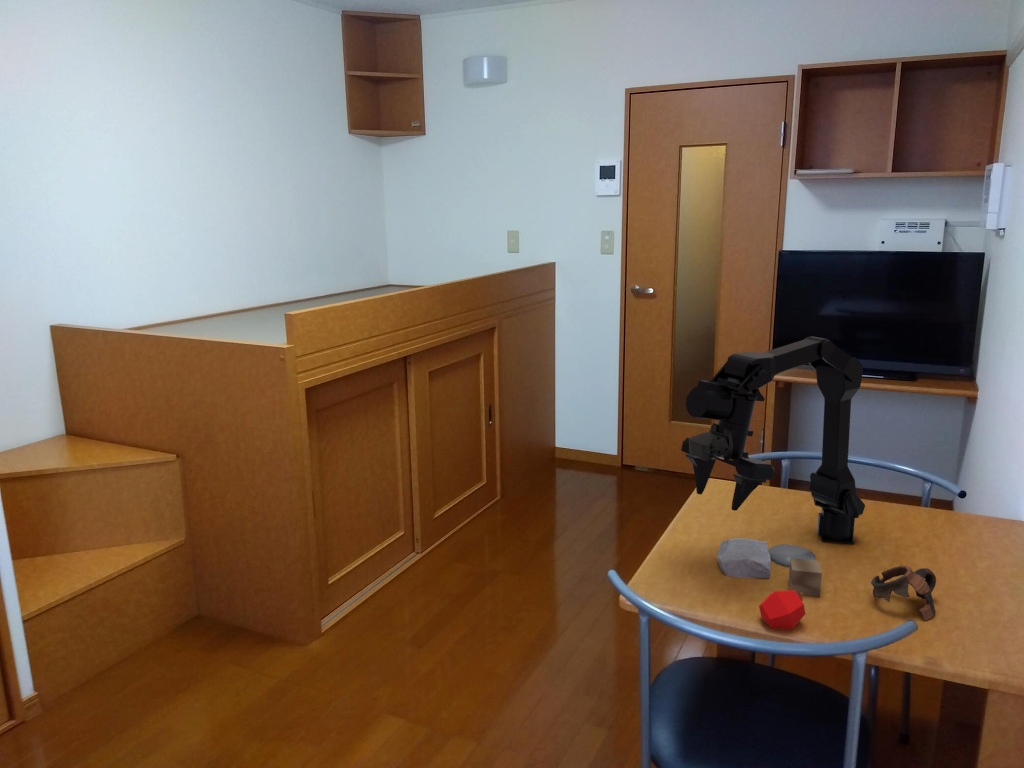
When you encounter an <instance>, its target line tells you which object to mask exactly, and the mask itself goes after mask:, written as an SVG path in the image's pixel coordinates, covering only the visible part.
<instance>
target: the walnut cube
mask: <svg viewBox="0 0 1024 768" xmlns="http://www.w3.org/2000/svg"><path fill="white" fill-rule="evenodd" d="M788 568H789V569H788V587H789V588H788V589H789V591H792V590H795V591H796V593H797V594H798V596H799V594H800V593H803V597H807V598H809V597H810V598H818V599H819V598H821V592H822V591H821V590H822V589H821V587H822V577H823V576H822V575H823V571H822V567H821V565H820V561H819V560H817V559H816V560H806V559H795V558H790V566H789V567H788Z"/></svg>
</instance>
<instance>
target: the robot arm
mask: <svg viewBox="0 0 1024 768" xmlns="http://www.w3.org/2000/svg"><path fill="white" fill-rule="evenodd" d="M805 365H809V366H810V367H811V368H812V369H813V370H814V371H815V374H816V376H815V377H816V384H817V386H818V389H819V391H820V392H821V394H822V396H823V398H824V401H823V403H824V404H823V405H824V406H823V423H822V425H823V426H822V427H823V428H822V446H821V447H822V448H821V451H822V452H821V464H820V466H819V467H818V468H817V469H816V471H815V472H811V473H810V475H809V477H810V478H809V479H810V484H809V487H808V491H810V493H811V497H812V499H813V502H814V506H816V507H819V508H821V509H820V510H821V511H820V512H818V514H817V524H816V525H817V526H816V531H817V535H818V536H819V537H820V540H821V542H825V543H837V544H848V545H854V544H856V543H855V542H856V540H855V538H854V534H855V533H854V532H855V522H856V521H855V520H856V519H858V518H859V517H860V516H862V515H863V513H864V512H865V508H866V504H865V503H864V502H863V500H862V499H861V498H860V497H859V495H858V494H857V490H856V488H857V487H856V479H855V478H854V476H853V474H852V471H851V470H850V468H849V465H848V463H849V449H850V447H849V446H850V445H849V443H850V426H851V413H852V412H851V407H852V406H851V405H852V399H853V398H854V396H855V395H856V394H857V392H858V391H859V390H860V388H861V385H862V379H863V374H864V367H863V363H862V362H861V361H860V360H859V359H858V358H856V357H853V356H852V355H851V354H848V352H846V351H844V350H843V349H841V348H839V347H837V345H835V343H834V342H833V341H831V340H830V339H828V338H824V337H817V336H807V337H805V338H804V339H802V340H799V341H795V342H792V343H788V344H786V345H783V346H780V347H776V348H773V349H771V350H767V351H763V352H753V351H751V352H748V351H747V352H735V353H733V354H730V355H729V356H728V357H727V361H726V362H725V363H724V364H723V365H722V366H721V368H720V369H719V370H718V371H717V372H716V374H715V375H714V376H713V377H712V378H711V379H710V380H709V381H707V380H703V379H699V380H698V383H697V386H694V387H693V388H692V389H691V390H690V391H689V393H688V395H686V399H685V408H686V411H687V413H688V414H689V416H690V417H692V418H695V419H704V420H714V421H715V420H717V421H718V422H713V423H712V424H711V426H710V429H709V431H707V432H702V433H699V434H697V435H694V436H691V437H686V438H685V439H684V440H683V441H682V445H681V450H680V451H681V452H684V453H685V454H684V456H685V458H687V459H688V460H689V461H690V463H691V464H692V468H693V474H694V480H695V481H694V483H695V488H696V489H695V491H696V494H697V495H702V494H703V493H704V491H705V489H706V487H707V485H708V482H709V479H710V477H711V474H712V471H713V469H714V466H715V463H716V461H720V462H723V463H725V464H727V465H730V466H733V467H735V468H734V469H735V472H736V474H732V475H733V479H734V481H735V486H734V490H733V491H734V492H733V495H732V501H731V511H738V510H739V508H741V506H742V505H743V503H744V502H745V501H746V500H747V499H748V497H749V496H750V495H751V494H752V493H753V491H754V490H756V489H757V488H758V486H759V485H761V483H766V482H767V481H773V479H774V475H775V468H774V466H773V464H772V463H769V462H767V461H763V460H761V459H758V458H749V452H748V451H746V450H745V449H746V445H747V440H748V437H753V435H754V431H753V430H750V427H751V423H752V418H753V415H754V411H755V410H754V409H755V405H756V402H765V398H766V397H764V395H763V394H762V393H761V392H760V389H761V388H763V387H764V386H766V385H768V384H769V383H772V382H773V380H774V378H775V376H777V375H778V374H782V373H784V372H787V371H789V370H793V369H795V368H798V367H802V366H805Z"/></svg>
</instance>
